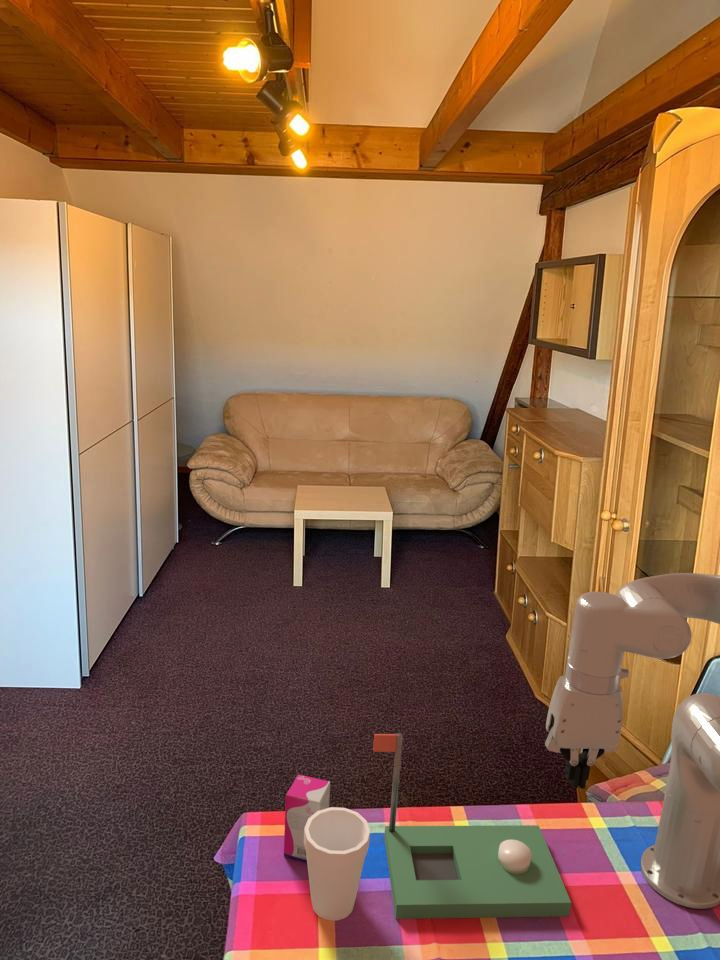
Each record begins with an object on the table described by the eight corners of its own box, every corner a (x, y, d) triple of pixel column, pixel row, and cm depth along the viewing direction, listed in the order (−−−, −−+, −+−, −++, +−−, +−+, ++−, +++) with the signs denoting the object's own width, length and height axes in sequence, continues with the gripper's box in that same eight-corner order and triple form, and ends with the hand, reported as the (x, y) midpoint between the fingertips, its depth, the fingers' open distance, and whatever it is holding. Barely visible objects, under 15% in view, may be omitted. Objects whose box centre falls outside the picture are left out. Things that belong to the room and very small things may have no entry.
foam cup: (356, 936, 106) (362, 860, 102) (293, 922, 108) (297, 846, 104) (369, 885, 115) (374, 813, 111) (311, 872, 117) (314, 802, 113)
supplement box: (328, 840, 124) (331, 780, 120) (316, 865, 118) (319, 804, 115) (295, 831, 125) (297, 772, 122) (282, 856, 119) (284, 795, 116)
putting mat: (536, 837, 127) (552, 732, 121) (569, 916, 111) (588, 799, 106) (366, 838, 124) (373, 730, 119) (375, 919, 109) (384, 799, 103)
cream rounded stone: (524, 849, 120) (525, 839, 120) (534, 873, 116) (535, 863, 115) (493, 850, 120) (495, 839, 119) (502, 874, 115) (504, 864, 115)
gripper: (631, 663, 114) (613, 767, 119) (534, 662, 113) (520, 767, 118) (653, 690, 107) (633, 799, 112) (550, 689, 105) (534, 799, 110)
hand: (575, 782), depth 115 cm, fingers closed
